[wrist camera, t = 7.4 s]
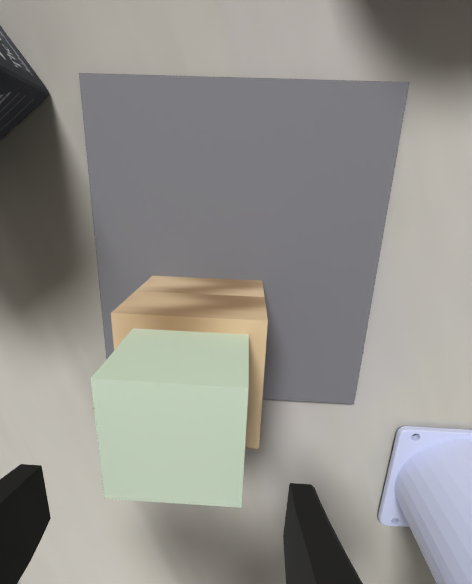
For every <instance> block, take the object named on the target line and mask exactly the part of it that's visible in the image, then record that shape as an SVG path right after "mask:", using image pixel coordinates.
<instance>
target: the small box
mask: <svg viewBox="0 0 472 584" xmlns="http://www.w3.org/2000/svg"><path fill="white" fill-rule="evenodd" d="M47 95H48V90H47V89H46V87H45V86H44V84H43V83H42V81H41V80H40V79H39V77H38V76H37V75H36V73H35V72H34V71H33V69H32V68H31V66H30V65H29V64H28V62H27V61H26V60H25V58H24V57H23V55H22V54H21V53H20V52H19V50H18V49H17V48H16V46H15V45H14V44H13V42H12V41H11V40H10V38H9V37H8V36H7V34H6V33H5V32H4V30H3V29H2V27H1V26H0V139H1V138H3V137H4V136H5V135H6V134H7V133H8V132H9V131H10V130H11V129H12V128H13V127H15V126H16V125H17V124H18V123H19V122H20V121H21V120H22V119H24V118H25V117H26V116H27V115H28V114H29V113H30V112H31V111H32V110H33V109H34V108H36V107H37V106H38V105H39V104H40V103H41V102H42V101H43V100H44V99H45V98H46V96H47Z"/></svg>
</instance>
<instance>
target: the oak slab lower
mask: <svg viewBox="0 0 472 584" xmlns="http://www.w3.org/2000/svg"><path fill="white" fill-rule="evenodd" d="M136 291H144V292H166V293H187V294H209V295H231V296H252V297H264V289H263V282H262V281H260V280H238V279H215V278H193V277H171V276H151V277H150V278H149V279H148V280H147V281H146V282H145V283H144V284H143V285H141V286H140V287H139V288H138V289H137V290H136Z"/></svg>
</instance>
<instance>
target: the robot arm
mask: <svg viewBox="0 0 472 584" xmlns="http://www.w3.org/2000/svg"><path fill="white" fill-rule="evenodd" d="M413 434H416V435H414V436H412V435H413ZM378 518H379V521H380V523H381V524H383V525H387V526H403V527H410V529H411V531H412V533H413V535H414V537H415V539H416V542H417V544H418V546H419V548H420V550H421V552H422V554H423V556H424V558H425V561H426V563H427V565H428V567H429V569H430V571H431V573H432V575H433V578H434V580H435V582H436V584H472V430H466V429H448V428H431V427H413V426H403V427H401V428H399V429H398V431H397V434H396V438H395V443H394V447H393V451H392V456H391V460H390V465H389V469H388V473H387V478H386V482H385V487H384V491H383V495H382V500H381V504H380V509H379V513H378ZM49 520H50V512H49V506H48V501H47V495H46V489H45V483H44V478H43V472H42V466H39V465H24V464H21V465H19V466H18V467H17V468H15V469H14V470H12V471H11V472H10V473H8V474H7V475H6V476H4V477H3V478H2V479H0V584H17V583H18V581H19V579H20V578H21V576H22V574H23V573H24V571H25V569H26V567H27V566H28V564H29V562H30V561H31V558H32V556H33V554H34V552H35V550H36V548H37V546H38V544H39V542H40V540H41V538H42V536H43V534H44V531H45V529H46V527H47V525H48V523H49ZM283 537H284V555H285V571H286V584H363V583H362V582H361V580H360V578H359V576H358V575H357V573H356V571H355V569H354V567H353V565H352V564H351V562H350V560H349V558H348V556H347V554H346V553H345V551H344V549H343V547H342V545H341V543H340V541H339V539H338V537H337V535H336V533H335V531H334V529H333V527H332V525H331V523H330V521H329V519H328V517H327V515H326V513H325V511H324V509H323V506H322V504H321V502H320V500H319V497H318V495H317V493H316V490H315V488H314V487H313V486H312V485H308V484H294V483H290V485H289V494H288V502H287V510H286V518H285V527H284V535H283Z"/></svg>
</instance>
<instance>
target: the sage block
mask: <svg viewBox="0 0 472 584" xmlns="http://www.w3.org/2000/svg"><path fill="white" fill-rule="evenodd" d="M91 386H92V395H93V404H94V413H95V422H96V431H97V440H98V449H99V458H100V467H101V476H102V485H103V494H104V499H119V500H134V501H149V502H164V503H179V504H194V505H209V506H224V507H238V508H241V507H242V490H243V473H244V456H245V440H246V423H247V406H248V389H249V335H247V334H229V333H210V332H191V331H172V330H153V329H134V328H133V329H132V330H131V331H130V332H129V334H128V335H127V336H126V337H125V338H124V340H123V341H122V342H121V343H120V344H119V346H118V347H117V348H116V349H115V350H114V351H113V353H112V354H111V355H110V356H109V357H108V359H107V360H106V361H105V362H104V363H103V365H102V366H101V367H100V368H99V369H98V371H97V372H96V373H95V374H94V375H93V377H92V378H91Z"/></svg>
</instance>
